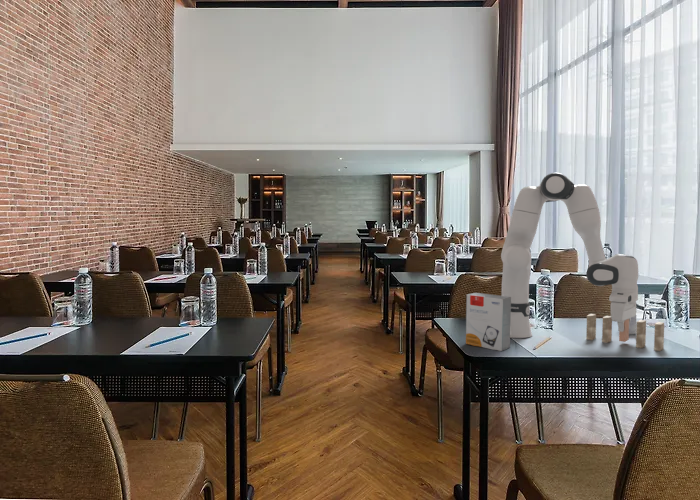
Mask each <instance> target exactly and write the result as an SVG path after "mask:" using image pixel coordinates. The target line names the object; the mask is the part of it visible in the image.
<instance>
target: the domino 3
mask: <svg viewBox="0 0 700 500" xmlns="http://www.w3.org/2000/svg"><path fill="white" fill-rule="evenodd" d="M624 327H625V330H624V331H623V332H620V331H618V333H619V334H618V341H619V342H622V343H625V342H627V341H629V340H630V334H629V319H627V320H625V321H624Z"/></svg>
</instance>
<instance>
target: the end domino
mask: <svg viewBox="0 0 700 500" xmlns="http://www.w3.org/2000/svg"><path fill="white" fill-rule="evenodd" d="M653 338H654V340H653V341H654V342H653V345H654V346H653V351H656V352H661V351H663V350H664V345H665V322H662V321H661V322H660V321H656V322H655V323H654V337H653Z"/></svg>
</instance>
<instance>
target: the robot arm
mask: <svg viewBox="0 0 700 500" xmlns="http://www.w3.org/2000/svg"><path fill="white" fill-rule="evenodd" d="M557 201H562V202H563V203H564V204H565V207H566V208H567V212H568V213H567V214H568V217H569V220H570V222H571V224H572V227H573V229H574V231H575V232H576V233H577V234H578V235H579V237H580V239H582V242H583V244H584V247H585V251H586V255H587V258H588V267H587V269H586V274H585V275H586V279H587V281H588V282H589V283H590V284H592V285H594V286H597V287H603V286H609V285H611V293H610V295H609V297H608V301H609V302H610V316H611V319H612V322H614V323H615V322H616V325H617V326H618V332H619V331H620V332H623V331H624V330H625V327H624V321H625V320H627V319H629V324H630V321H631V317H633V316H635V315H636V316H637V301H638V300H639V299H638V297H639V286H638V280H639V263H638V260H637V258H636V257H634V256H632V255H629V254H623V253H616V254H614V255H612V256H611V257H608V258H607V257H606V255H605V252H604V247H603V244H602V241H601V224H602V223H601V214H600V213H601V212H600V209H599V205H598V202H597V199H596V197H595V194H594V192H593V191H592V188H591V187H590V186H589V185H587V184H581V183H579V184H574V182H572V180H571V179H569V178H568V177H567V176H566V175H564V174H563V173H560V172H550V173H548V174H547V175H545V176H544V177H543V178H542V180H541V182H540V184H539V185H538V186H531V185H530V186H525V187H523V188H521V189H520V191H519V193H518V195H517V197H516V200H515V202H514V205H513V210H512V212H511V213H512V214H511V218H510V221H509V226H508V229H507V233H506V236H505V239H504V243H503V245H502V246H503V247H502V250H501V254H500V258H501V259H500V260H501V261H502V276H501V296H507V297H511V321H510V339H511V338H512V339H513V338H514V339H516V338H517V339H525V338H532V337H533V333H532V329H531V324H530V312H531V307H530V301H529V300H530V299H529V298H530V297H529V296H530V295H529V294H530V276H531V269H532V254H531V251H530V250H531V248H532V244H533V240H534V238H535V236H536V233H537V230H538V226H539V221H540V217H541V214H542V209H543V206H544V204H545V203H550V202H557Z"/></svg>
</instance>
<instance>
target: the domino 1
mask: <svg viewBox="0 0 700 500" xmlns="http://www.w3.org/2000/svg"><path fill="white" fill-rule="evenodd" d="M585 338H586V340H587V341H593V340H595V339H596V338H597V314H595V313H589V314H588V315H586V337H585Z"/></svg>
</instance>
